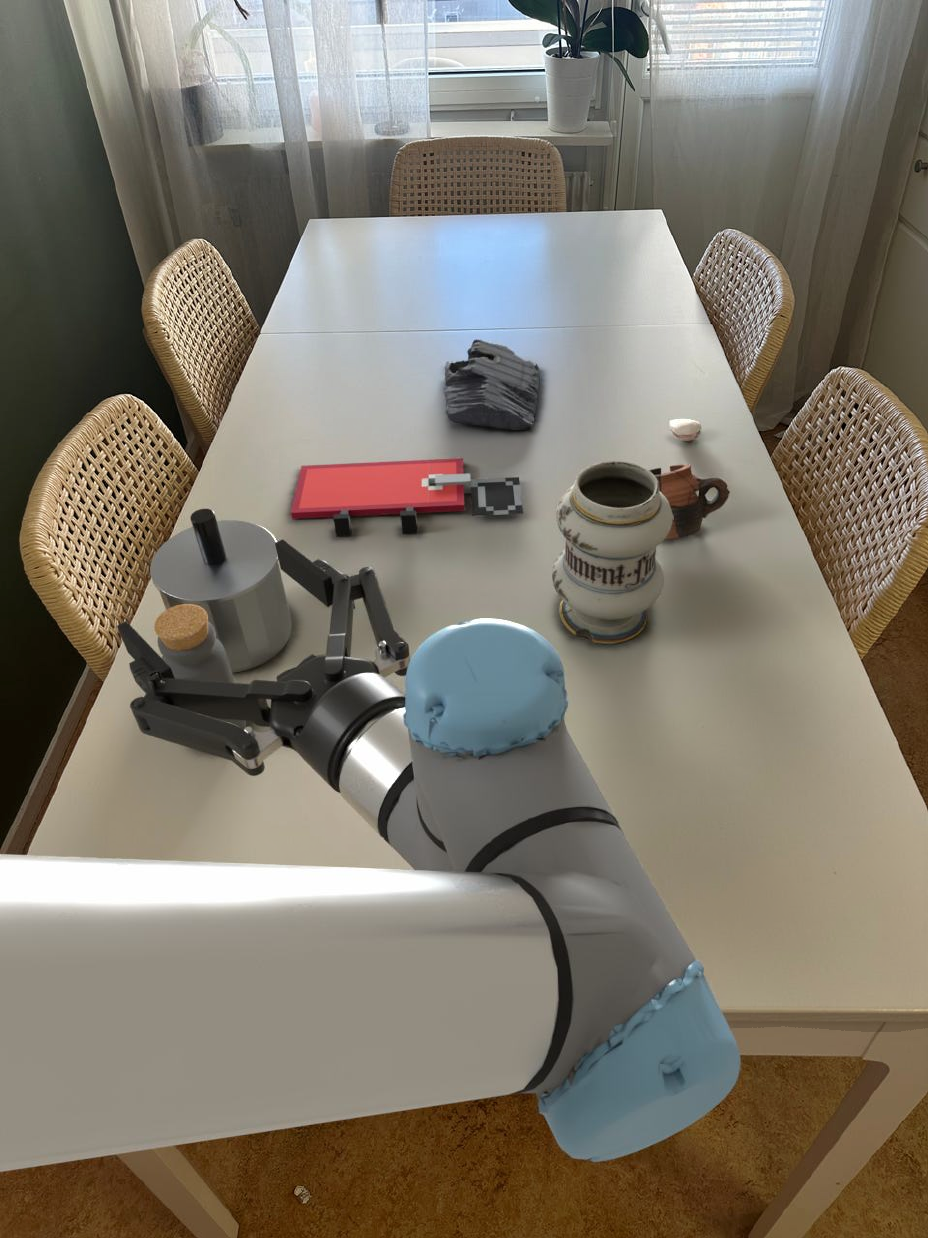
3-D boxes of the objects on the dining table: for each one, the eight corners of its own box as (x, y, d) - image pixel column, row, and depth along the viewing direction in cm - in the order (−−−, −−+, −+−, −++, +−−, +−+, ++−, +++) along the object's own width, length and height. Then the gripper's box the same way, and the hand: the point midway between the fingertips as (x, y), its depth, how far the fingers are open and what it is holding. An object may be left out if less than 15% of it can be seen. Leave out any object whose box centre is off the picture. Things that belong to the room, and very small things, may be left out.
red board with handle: (524, 528, 110) (516, 464, 121) (524, 509, 108) (516, 446, 119) (288, 538, 110) (303, 474, 121) (284, 520, 108) (299, 456, 120)
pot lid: (132, 604, 87) (112, 553, 83) (179, 524, 97) (163, 474, 92) (259, 612, 86) (245, 561, 81) (294, 530, 95) (284, 480, 91)
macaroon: (684, 447, 123) (687, 432, 121) (658, 433, 126) (661, 417, 124) (705, 437, 125) (708, 422, 123) (679, 423, 128) (682, 408, 126)
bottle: (250, 704, 90) (217, 597, 80) (243, 748, 86) (208, 641, 76) (193, 708, 90) (154, 601, 80) (184, 753, 86) (141, 646, 75)
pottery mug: (638, 547, 108) (626, 482, 106) (637, 533, 116) (625, 472, 114) (738, 528, 105) (727, 461, 103) (729, 514, 114) (719, 452, 112)
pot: (164, 669, 94) (136, 597, 87) (202, 593, 103) (180, 522, 96) (274, 677, 93) (255, 605, 86) (304, 599, 102) (289, 528, 94)
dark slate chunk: (431, 433, 128) (430, 404, 124) (447, 362, 144) (446, 335, 140) (536, 435, 126) (536, 406, 123) (540, 364, 142) (541, 336, 139)
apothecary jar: (533, 632, 97) (538, 500, 84) (572, 568, 104) (582, 438, 92) (638, 665, 93) (659, 531, 80) (670, 596, 100) (694, 464, 88)
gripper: (224, 906, 52) (70, 711, 63) (517, 689, 64) (343, 558, 75) (194, 836, 47) (32, 638, 58) (519, 614, 59) (332, 486, 70)
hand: (207, 593), depth 67 cm, fingers open, 13 cm apart
